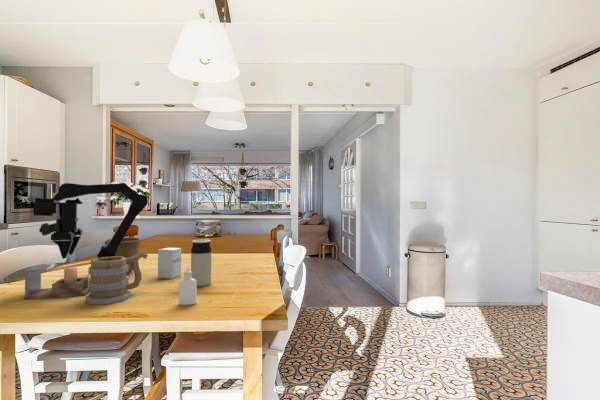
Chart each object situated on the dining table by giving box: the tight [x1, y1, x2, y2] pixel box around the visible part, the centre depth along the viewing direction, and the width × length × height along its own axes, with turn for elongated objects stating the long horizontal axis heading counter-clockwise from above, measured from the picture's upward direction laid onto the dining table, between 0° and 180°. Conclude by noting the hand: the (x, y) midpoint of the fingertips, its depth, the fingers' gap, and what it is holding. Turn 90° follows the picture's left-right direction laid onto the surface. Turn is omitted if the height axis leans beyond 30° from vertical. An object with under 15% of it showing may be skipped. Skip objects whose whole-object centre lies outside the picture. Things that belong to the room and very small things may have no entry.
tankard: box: [85, 251, 149, 305], centre depth 119 cm, size 20×13×15 cm, turn 139°
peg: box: [63, 266, 78, 283], centre depth 123 cm, size 4×4×8 cm
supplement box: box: [157, 247, 182, 280], centre depth 151 cm, size 7×7×13 cm
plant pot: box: [104, 236, 142, 275], centre depth 155 cm, size 15×15×16 cm
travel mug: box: [190, 239, 212, 287], centre depth 137 cm, size 8×8×18 cm
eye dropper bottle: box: [178, 267, 198, 306], centre depth 112 cm, size 4×6×12 cm
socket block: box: [24, 263, 90, 300], centre depth 122 cm, size 18×10×10 cm, turn 108°
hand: (67, 256), depth 129 cm, fingers open, 9 cm apart
